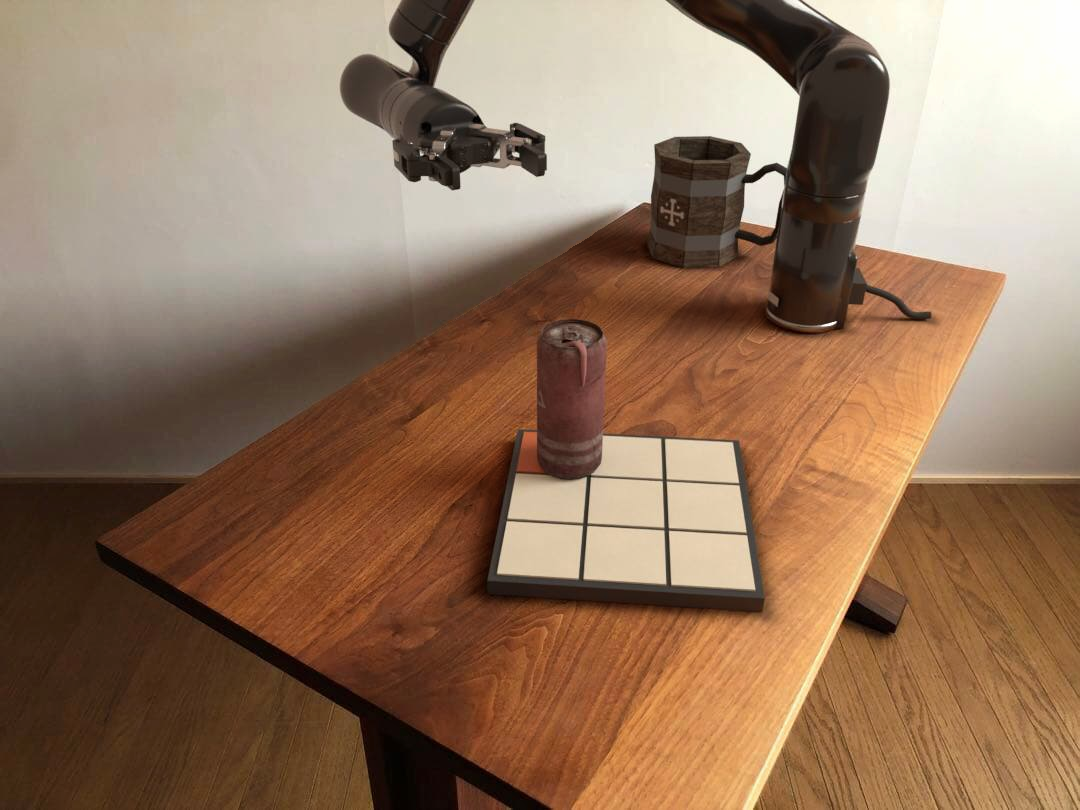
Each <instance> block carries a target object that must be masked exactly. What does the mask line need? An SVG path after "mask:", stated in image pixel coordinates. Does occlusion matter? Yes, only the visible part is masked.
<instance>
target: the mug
mask: <svg viewBox="0 0 1080 810" xmlns="http://www.w3.org/2000/svg"><path fill="white" fill-rule="evenodd" d="M653 147H654V148H653V149H654V150H653V151H654V172H653V181H652V188H651V194H650V227H649V234H648V238H647V244H646V245H647V248H648V250H649V252H650V254H651V257H652V259H655V260H657V261H659V262H663V263H665V264H670V265H673V266H676V267H678V268H682V269H691V268H692V269H694V268H695V269H696V268H697V269H698V268H720V267H722V266H723V265H725V264H726V263H729V262H731V261H732V260H734V259H736V258H737V257H738V256H739V240H742V241H745V242H748V243H752V244H755V245H757V246H760V247H763V246H767V245H771V244H774V243H775V242H776V241H777V234H778V227H779V221H780V214H781V207H782V200H783V193H784V189H783V190H782V193H781V196H780V199H779V202H778V208H777V212H776V220H775V225H774V229H773V230H772V232H771V234H770V235H766V236H761V235H758V234H757V233H754V232H752V231H749V230H745V229H741V228H740V226H741V223H742V222H741V221H742V218H743V213H744V209H745V194H746V193H745V190H746V184H755V183H756V182H758V181H760V180H761V179H762V178H763V177H765V175H767V174H771V173H773V172H775V173H778V174H780V175H781V176H783V187H784V186H785V180H786V172H787V166H784V165H782V164H780V163H778V162H774V163H769V164H765V165H763V166H762V167H761V168H759V169H758V170H757V171H755V172H754V173H752V174H751V173H750V174H749V173H748V168H749V165H750V161H751V160H750V159H751V155H752V153H751V152H750V151H749V150H748V148H746V146H745V145H744V144H743V143H742V142H740V141H734V140H730V139H726V138H720V137H716V136H711V135H708V136H707V135H702V136H701V135H700V136H698V135H697V136H694V135H693V136H673V137H671V138H668V139H665V140H663V141H659V142H657V143H655V144H654V145H653ZM747 173H748V174H747Z"/></svg>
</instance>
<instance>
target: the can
mask: <svg viewBox="0 0 1080 810" xmlns="http://www.w3.org/2000/svg"><path fill="white" fill-rule="evenodd" d="M607 350H608V340H607V339H606V336H605V334H604V331H603V329H602V328H601V326H600V325H598V324H597V323H595V322H592V321H590V320H586V319H581V318H562V319H557V320H553V321H551V322H549V323H546V324H545V325H544V326H543V327H542V329H541V331H540V334H539V335H538V337H537V340H536V430H537V459H538V463H539V465H540V466H541V467H542V469H543V470H544V471H545V472H546V473H547V474H549V475H551V476H553V477H556V478H559V479H565V480H575V479H581V478H584V477H588V476H589V475H591V474H592V473H594V472H595V470H596V469H597V468H598V467H599V465H600V464H601V460H602V444H603V434H604V421H605V420H604V417H605V399H606V397H605V396H606V375H607V373H606V372H607V356H608V355H607V354H608V352H607Z"/></svg>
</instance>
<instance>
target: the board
mask: <svg viewBox="0 0 1080 810" xmlns="http://www.w3.org/2000/svg"><path fill="white" fill-rule="evenodd" d="M744 468H745V467H744V462H743V455H742V450H741V443H740V440H738V439H719V438H701V437H700V438H697V437H695V438H694V437H679V436H678V437H677V436H659V435H642V434H641V435H640V434H638V435H637V434H619V433H618V434H617V433H603V444H602V460H601V464H600V465H599V467H598V468H597V469H596V470H595V472H594V473H592V474H591V475H589V476H588V477H584V478H581V479H575V480H565V479H559V478H556V477H553V476H551V475H549V474H547V473H546V472H545V471H544V470H543V469H542V467H541V466H540V465H539V463H538V459H537V429H523V428H522V429H521V428H519V429H517V431H516V436H515V441H514V446H513V451H512V456H511V462H510V467H509V472H508V476H507V481H506V487H505V491H504V495H503V501H502V505H501V511H500V516H499V520H498V526H497V531H496V535H495V540H494V546H493V550H492V554H491V561H490V565H489V570H488V573H487V574H488V575H487V580H486V584H487V586H486V588H487V595H494V596H495V595H496V596H509V597H511V596H512V597H528V598H539V599H540V598H541V599H557V600H574V601H589V602H601V603H602V602H603V603H605V602H606V603H620V604H632V605H633V604H634V605H649V606H650V605H651V606H666V607H679V608H681V607H682V608H695V609H696V608H697V609H711V610H725V611H726V610H727V611H740V612H741V611H742V612H758V613H763V612H764V606H765V600H766V597H765V596H766V595H765V589H764V584H763V578H762V573H761V566H760V559H759V554H758V548H757V541H756V535H755V530H754V529H755V528H754V523H753V517H752V510H751V505H750V499H749V494H748V493H749V491H748V487H747V481H746V474H745V469H744Z"/></svg>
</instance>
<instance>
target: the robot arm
mask: <svg viewBox="0 0 1080 810" xmlns="http://www.w3.org/2000/svg"><path fill="white" fill-rule="evenodd" d="M475 1H476V0H400V2H399V4H398V6H397V7H396V9H395V11H394V12H393V15H392V16H391V18H390V21H389V23H388V33H389V37H390V38H391V39H392V41H393V42H394V43H395V44H396V45H397V46H398V47H399V48H400V49H401V50H402V51H404V52H405V53H406V54H407V55H408V56H410V58H411V66H410V69H409V70H408V71H407V70H406V69H403V68H401V67H399V66H397V65H396V64H393V63H392V62H390V61H388V60H387V59H384V58H383V57H380V56H378V55H376V54H374V53H373V54H372V53H364V54H363V53H362V54H360V55H357V56H355V57H353V58H352V59H351V60H349V62H348V63H347V64H346V65H345V66H344V69H343V70H342V73H341V75H340V80H339V94H340V98H341V101H342V103H343V105H344V106H345V108H346V109H347V110H348V111H349V112H350V113H352V114H354V115H355V116H357V117H359V118H361V119H363V120H365V121H366V122H368V123H370V124H372V125H374V126H375V127H378V128H380V129H381V130H383V131H385V132H386V133H387V134H388V135H389V136H390V137H391V138H392V139H393V140H391V142H392V154H393V165H394V168H396V169H397V170H398V172H400V174H402V176H403V177H404V178H405V179H406V180H407V181H408V182H411V183H418V182H420V181H422V177H428V181H430V182H437V183H438V184H440V185H441V186H442V187H443V186H444V187H447V188H448V189H449V190H451V191H457V190H460V189H461V187H462V186H461V185H462V184H461V174H462V173H464V172H466V171H468V170H469V169H470V168H471V167H475V168H481V167H484V166H485V167H489V168H490V167H491V168H497V169H506V168H508V167H509V166H516V167H521V168H522V169H523V170H525V171H526V172H528V173H530V174H531V175H533V176H534V177H536V178H539V177H545V175H546V171H548V154H547V153H546V135H544V134H542V133H540V132H539V131H537V130H534V129H532V128H530V127H529V126H526V125H524V124H522V123H518V122H513V123H509V130H507V129H506V130H505V129H498V128H491V127H487V126H486V125H485V123H484V121H483V120H482V118H481V116H480V115H479V113H478V112H477V111H476V110H475V109H474V108H473V107H472V106H470V105H469V104H467V103H465V102H464V101H463V100H460V99H459V98H457V97H455V96H453V95H452V94H451V93H448V92H446V91H445V90H443V89H440V88H437V87H435V86H436V82H437V79H438V77H439V72H440V70H441V67H442V64H443V61H444V58H445V56H446V53H447V51H448V49H449V48H450V47H451V44H452V42H453V41H454V39H455V37H456V35H457V34H458V32H459V30H460V29H461V27H462V26H463V23H464V22H465V20H466V19H467V16H468V15H469V13H470V11H471V9H472V7H473V5H474V3H475ZM664 1H665V2H666V3H667V4H669V5H670V6H671V7H673V8H674V9H675V10H677V11H678V12H680V13H681V14H682V15H683V16H685V17H687V18H688V19H689V20H691V21H693V22H694V23H695V24H698V25H699V26H702V27H703V28H705V29H706V30H709V31H710V32H712V33H715V34H716V35H718V36H720V37H721V38H724V39H726V40H728V41H731V42H732V43H735V44H737V45H739V46H741V47H743V48H745V49H746V50H748V51H750V52H751V53H753V54H754V55H755V56H757V57H758V58H759V59H761V60H762V61H763V62H764V63H766V65H768V67H770V68H771V69H772V70H773V71H775V72H776V73H777V74H778V75H779V76H780V77H781V78H782V79H783V80H784V81H785V82H786V83H787V84H788V85H789V86H790V88H792V89H793V90H794V91H795V92H796V94H797V95H798V96H799V99H798V105H797V113H796V119H795V126H794V131H793V132H794V133H793V139H792V144H791V145H792V146H791V151H790V155H789V159H788V161H787V166H786V168H787V172H786V180H785V186H784V185H783V187H784V188H783V190H784V193H783V192H782V193H783V200H782V207H781V214H780V221H779V227H778V234H777V239H776V240H775V249H774V254H773V262H772V269H771V275H770V280H769V281H770V282H769V289H768V293H767V300H766V301H767V302H766V305H765V312H764V313H765V316H766V318H767V319H768V320H769V321H770V322H771V323H773V324H774V325H776V326H778V327H780V328H783V329H785V330H788V331H793V332H800V333H808V334H809V333H811V334H815V333H816V334H817V333H825V332H829V331H833V330H835V329H845V326H846V319H847V315H848V309H849V305H856V306H863V305H864V300H865V295H866V293H867V294H870V295H874V296H877V297H880V298H882V299H885V300H887V301H889V302H891V303H893V304H894V305H895V306H896V307H897V309H898V310H899V311H900V313H902V314H903V315H904V316H905V317H908V318H909V319H911V320H930V319H932V311H913V310H911V309H910V308H909V307H908V306H907V305H906V304H905V302H904V301H903V300H902V299H901V298H900V297H898V296H897V295H895V294H893V293H891V292H889V291H887V290H884V289H882V288H878V287H876V286H873V285H870V284H868V283H867V281H866V279H865V277H864V275H863V273H862V271H861V268H860V267H857V265H858V258H859V257H858V255H857V252H856V251H855V249H856V243H857V240H858V239H857V238H858V233H859V228H860V223H861V218H862V212H863V207H864V202H865V198H866V193H867V187H868V182H869V178H870V175H871V173H872V172H873V169H874V166H875V163H876V159H877V157H878V152H879V151H878V150H879V146H880V142H881V137H882V132H883V129H884V123H885V120H886V119H885V118H886V113H887V109H888V104H889V99H890V90H891V89H890V88H891V80H890V73H889V71H888V68H887V66H886V65H885V62H884V60H883V59H882V57H881V55H880V53H879V52H878V50H877V49H876V48H875V47H874V46H873V45H872V44H871V43H870V42H869V41H867V40H866V39H864V38H862V37H860V36H859V35H858V34H856V33H854V32H852V31H851V30H849V29H847V28H845V27H844V26H842V25H840V24H839V23H838V22H836V21H833V20H832V19H831V18H830V17H827V16H826V15H825V14H824V13H822V12H820V11H818V9H815V8H814V7H813V6H811V5H810V4H809V3H807V2H806V1H804V0H664ZM498 152H499V158H497V157H495V156H496V155H497V153H498ZM515 153H517V154H518V156H514V155H513V154H515Z"/></svg>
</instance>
